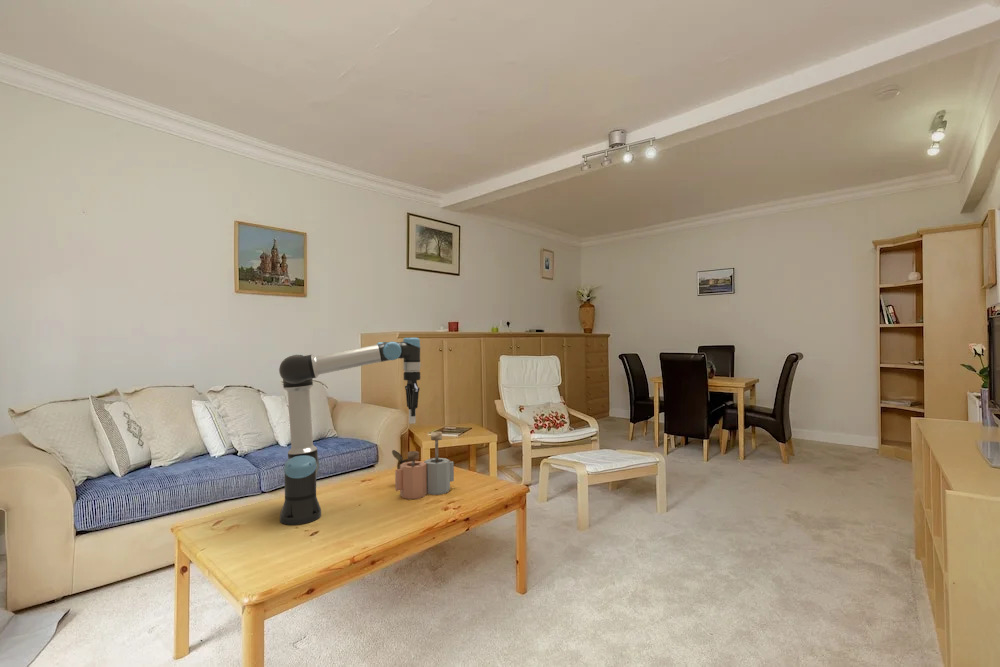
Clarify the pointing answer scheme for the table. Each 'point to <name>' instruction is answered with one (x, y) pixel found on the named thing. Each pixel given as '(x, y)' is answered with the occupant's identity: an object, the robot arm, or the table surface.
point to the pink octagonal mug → (411, 480)
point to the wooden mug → (399, 458)
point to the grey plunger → (436, 442)
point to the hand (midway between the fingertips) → (412, 423)
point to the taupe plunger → (413, 456)
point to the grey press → (439, 475)
